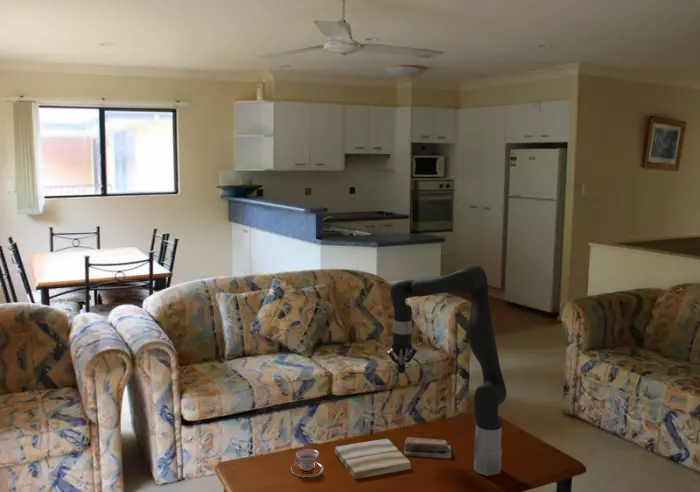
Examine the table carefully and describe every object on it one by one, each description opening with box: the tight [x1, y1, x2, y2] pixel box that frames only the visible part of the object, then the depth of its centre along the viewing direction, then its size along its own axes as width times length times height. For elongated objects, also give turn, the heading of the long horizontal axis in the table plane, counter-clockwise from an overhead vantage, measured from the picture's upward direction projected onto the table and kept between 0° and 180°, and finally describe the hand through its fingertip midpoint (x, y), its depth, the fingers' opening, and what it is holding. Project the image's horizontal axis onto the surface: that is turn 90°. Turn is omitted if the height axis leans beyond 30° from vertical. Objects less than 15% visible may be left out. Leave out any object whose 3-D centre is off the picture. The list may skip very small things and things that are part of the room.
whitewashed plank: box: [334, 438, 399, 466], centre depth 256 cm, size 10×22×2 cm, turn 112°
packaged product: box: [403, 436, 452, 459], centre depth 260 cm, size 18×5×10 cm
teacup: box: [290, 448, 324, 478], centre depth 244 cm, size 12×12×6 cm
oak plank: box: [344, 450, 412, 480], centre depth 246 cm, size 10×22×3 cm, turn 112°
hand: (401, 372), depth 268 cm, fingers closed
